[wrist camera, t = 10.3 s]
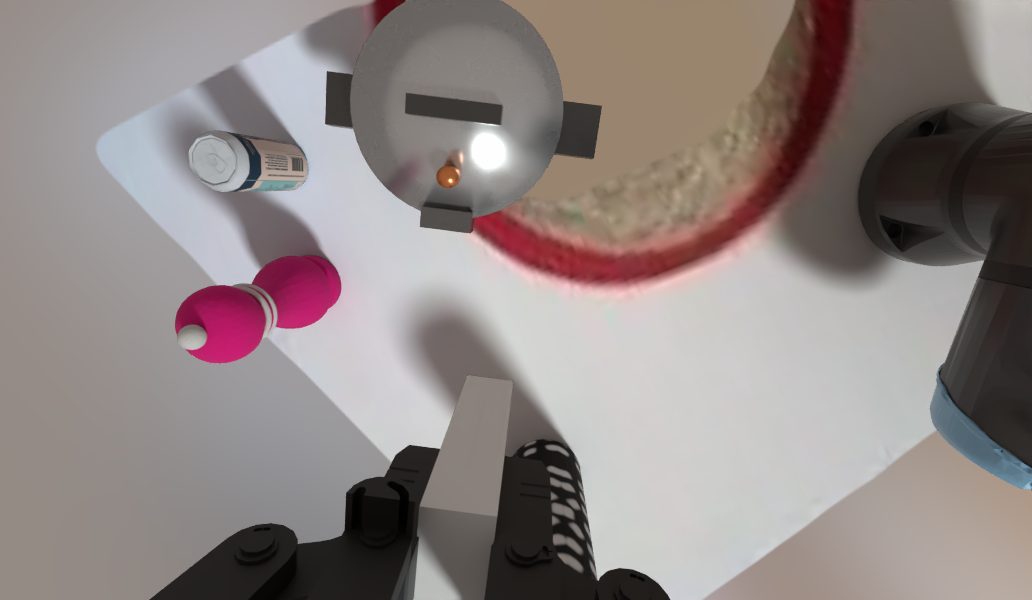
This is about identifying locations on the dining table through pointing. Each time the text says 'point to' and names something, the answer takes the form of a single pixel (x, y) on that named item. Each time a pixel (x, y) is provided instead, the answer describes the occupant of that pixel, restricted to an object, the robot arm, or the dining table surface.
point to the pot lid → (456, 107)
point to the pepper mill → (256, 308)
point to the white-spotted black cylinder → (565, 504)
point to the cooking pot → (572, 142)
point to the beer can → (246, 163)
